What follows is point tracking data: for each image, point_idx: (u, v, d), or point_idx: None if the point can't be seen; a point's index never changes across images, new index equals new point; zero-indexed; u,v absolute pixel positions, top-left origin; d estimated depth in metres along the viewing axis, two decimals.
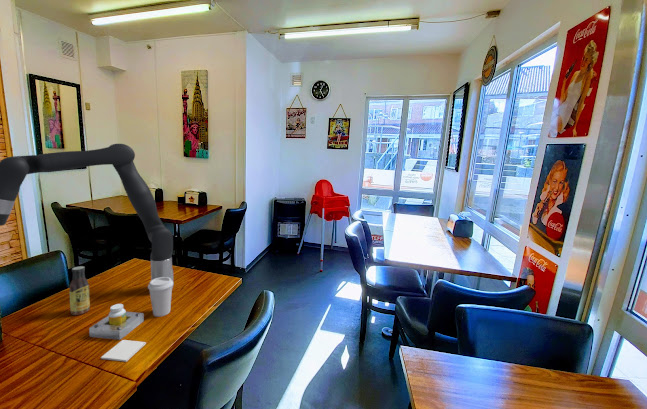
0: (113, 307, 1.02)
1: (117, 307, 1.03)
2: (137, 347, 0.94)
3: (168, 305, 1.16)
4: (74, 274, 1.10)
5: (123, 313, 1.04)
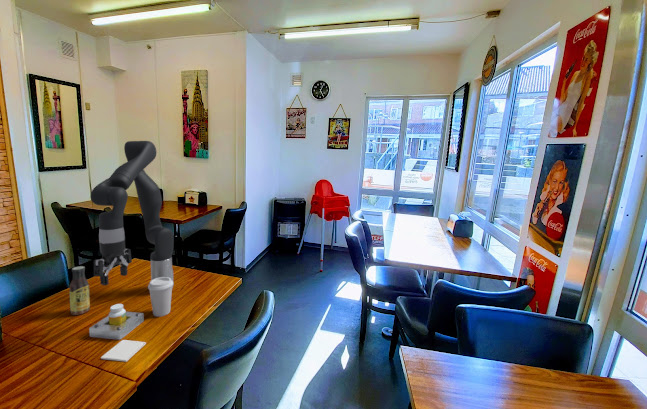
0: (113, 307, 1.02)
1: (117, 307, 1.03)
2: (137, 347, 0.94)
3: (168, 305, 1.16)
4: (74, 274, 1.10)
5: (123, 313, 1.04)
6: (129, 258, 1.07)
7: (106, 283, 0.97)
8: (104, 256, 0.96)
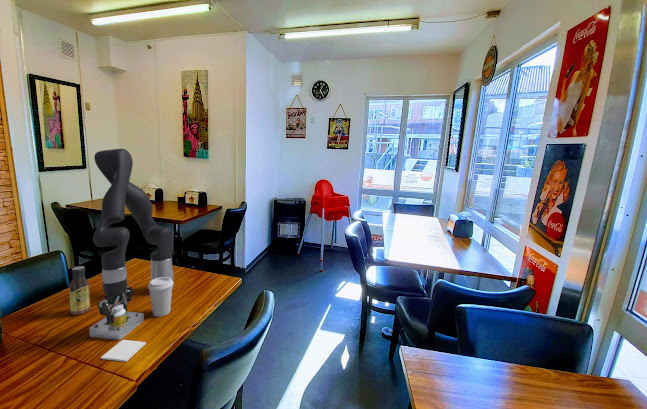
0: None
1: (117, 307, 1.03)
2: (137, 347, 0.94)
3: (168, 305, 1.16)
4: (74, 274, 1.10)
5: (123, 313, 1.04)
6: (129, 296, 1.08)
7: (112, 321, 1.01)
8: (107, 295, 0.99)
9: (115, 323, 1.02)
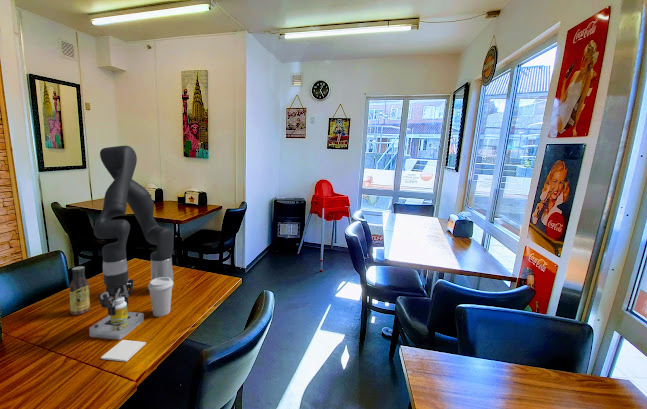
0: None
1: (118, 299, 1.03)
2: (137, 347, 0.94)
3: (168, 305, 1.16)
4: (74, 274, 1.10)
5: (124, 305, 1.04)
6: (130, 289, 1.08)
7: (113, 313, 1.01)
8: (108, 288, 0.98)
9: (116, 315, 1.02)
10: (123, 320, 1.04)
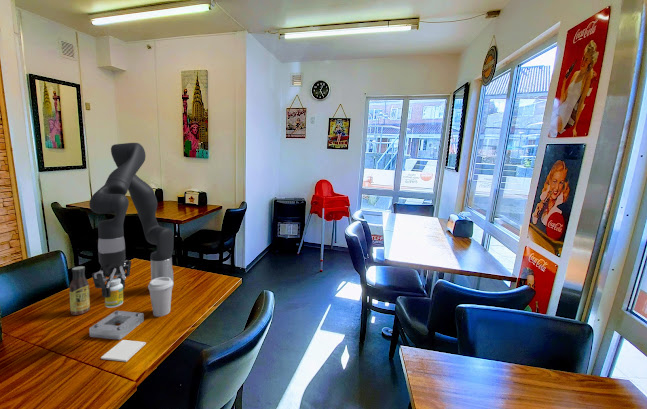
0: None
1: (114, 280, 0.96)
2: (137, 347, 0.94)
3: (168, 305, 1.16)
4: (74, 274, 1.10)
5: (120, 287, 0.96)
6: (128, 271, 1.01)
7: (108, 295, 0.94)
8: (103, 267, 0.92)
9: (111, 298, 0.95)
10: (118, 303, 0.96)
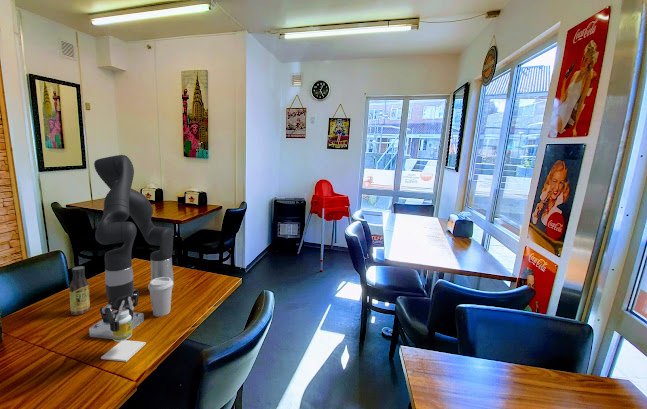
0: None
1: (122, 313, 0.90)
2: (137, 347, 0.94)
3: (168, 305, 1.16)
4: (74, 274, 1.10)
5: (129, 320, 0.91)
6: (136, 300, 0.96)
7: (116, 329, 0.88)
8: (111, 300, 0.86)
9: (120, 331, 0.89)
10: (127, 336, 0.91)
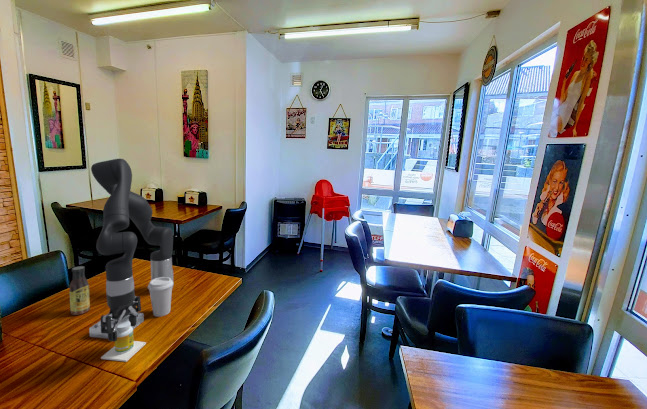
0: (119, 325, 0.91)
1: (124, 325, 0.91)
2: (137, 347, 0.94)
3: (168, 305, 1.16)
4: (74, 274, 1.10)
5: (130, 332, 0.92)
6: (138, 306, 0.97)
7: (114, 339, 0.88)
8: (112, 310, 0.87)
9: (121, 343, 0.90)
10: (129, 348, 0.92)
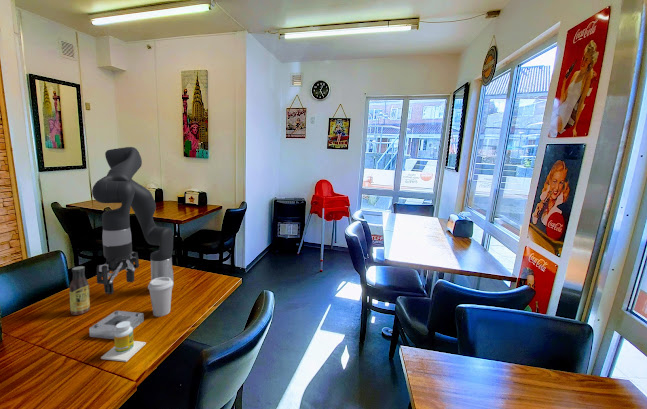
0: (119, 325, 0.91)
1: (123, 325, 0.91)
2: (137, 347, 0.94)
3: (168, 305, 1.16)
4: (74, 274, 1.10)
5: (130, 332, 0.92)
6: (136, 262, 0.94)
7: (111, 291, 0.85)
8: (108, 261, 0.84)
9: (121, 343, 0.90)
10: (129, 348, 0.92)
